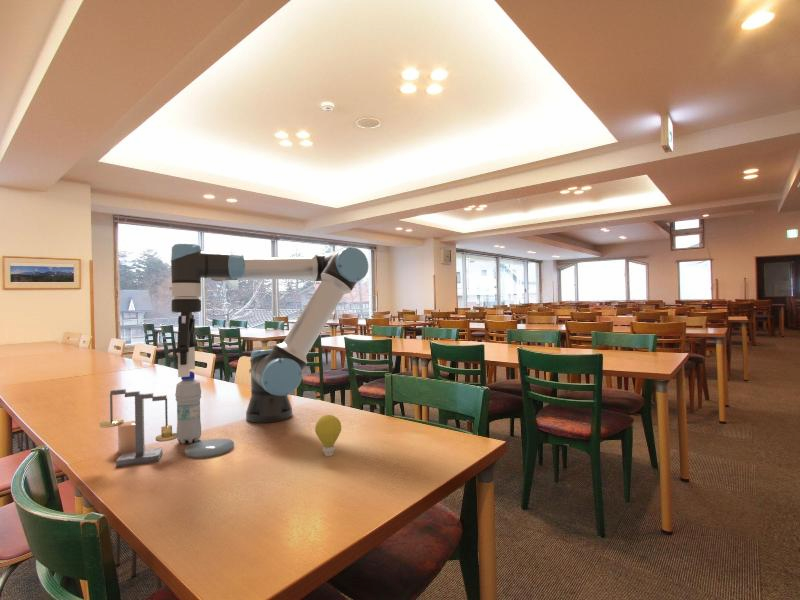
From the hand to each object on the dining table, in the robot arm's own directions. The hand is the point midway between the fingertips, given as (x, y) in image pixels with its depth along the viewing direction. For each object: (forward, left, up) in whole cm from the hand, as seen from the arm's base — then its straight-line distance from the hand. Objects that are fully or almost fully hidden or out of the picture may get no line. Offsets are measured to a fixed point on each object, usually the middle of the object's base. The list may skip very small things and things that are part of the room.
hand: (187, 372), depth 120 cm
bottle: (0, 0, -20) cm, 20 cm away
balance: (+10, +11, -20) cm, 24 cm away
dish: (-6, +10, -20) cm, 23 cm away
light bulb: (-35, +26, -20) cm, 48 cm away
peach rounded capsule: (+14, +1, -20) cm, 24 cm away
